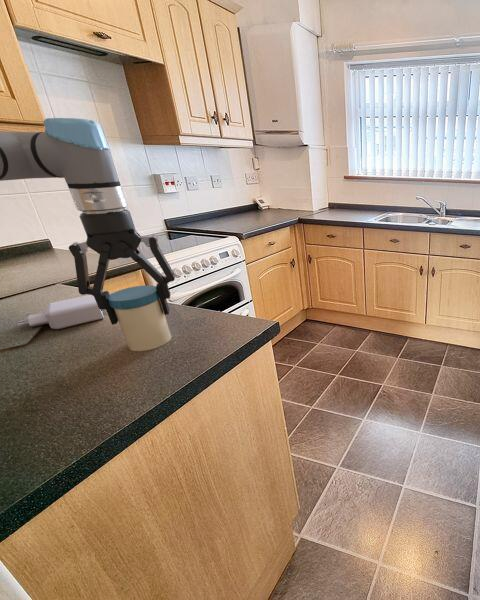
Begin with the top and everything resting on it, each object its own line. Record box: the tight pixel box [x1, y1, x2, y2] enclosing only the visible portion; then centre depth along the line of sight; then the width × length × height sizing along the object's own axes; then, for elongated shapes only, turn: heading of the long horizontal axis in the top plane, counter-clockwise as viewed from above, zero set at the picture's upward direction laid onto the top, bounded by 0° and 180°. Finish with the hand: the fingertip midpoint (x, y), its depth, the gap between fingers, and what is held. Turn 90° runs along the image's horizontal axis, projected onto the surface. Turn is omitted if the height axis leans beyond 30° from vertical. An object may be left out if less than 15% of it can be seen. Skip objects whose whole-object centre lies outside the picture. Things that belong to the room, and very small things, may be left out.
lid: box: [108, 284, 159, 309], centre depth 71 cm, size 9×9×2 cm
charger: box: [16, 294, 105, 330], centre depth 83 cm, size 5×9×15 cm
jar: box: [114, 299, 173, 352], centre depth 73 cm, size 8×8×12 cm
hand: (142, 316), depth 73 cm, fingers closed on lid, 9 cm apart
